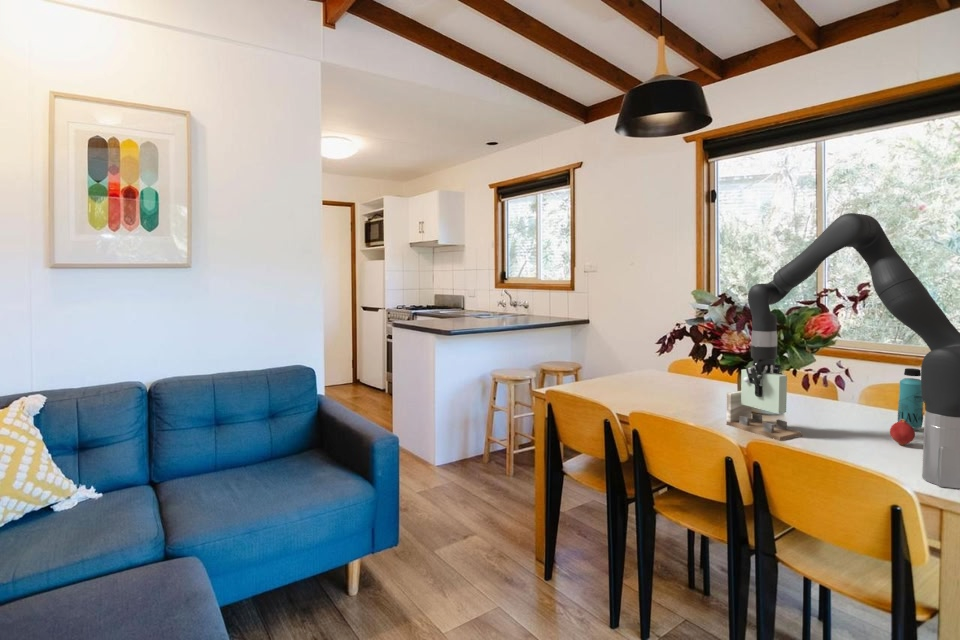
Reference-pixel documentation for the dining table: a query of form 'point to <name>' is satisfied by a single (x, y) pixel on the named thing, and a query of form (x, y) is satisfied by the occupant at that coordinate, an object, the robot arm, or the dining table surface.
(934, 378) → the robot arm
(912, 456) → the dining table surface
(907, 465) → the dining table surface
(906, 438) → the onion
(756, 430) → the cabinet frame
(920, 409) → the beverage bottle
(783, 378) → the door
